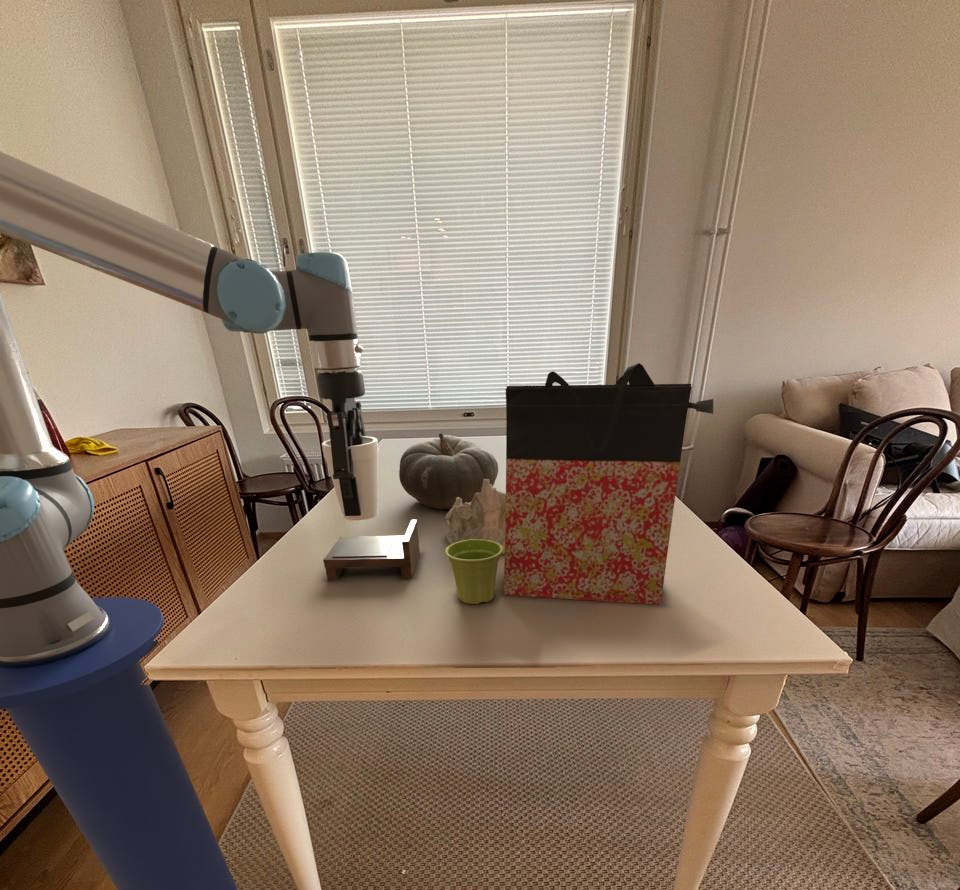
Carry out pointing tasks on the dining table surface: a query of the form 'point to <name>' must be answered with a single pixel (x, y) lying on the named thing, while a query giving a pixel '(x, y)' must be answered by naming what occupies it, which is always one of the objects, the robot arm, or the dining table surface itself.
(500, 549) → the plant pot
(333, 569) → the shelf
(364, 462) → the foam cup
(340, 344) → the robot arm
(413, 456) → the gourd
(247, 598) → the dining table surface
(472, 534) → the ceramic cottage
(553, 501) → the gift bag
